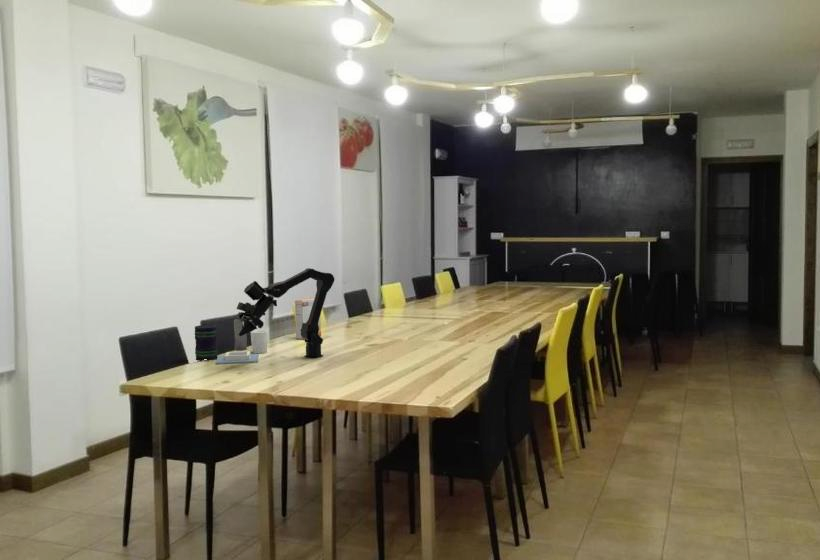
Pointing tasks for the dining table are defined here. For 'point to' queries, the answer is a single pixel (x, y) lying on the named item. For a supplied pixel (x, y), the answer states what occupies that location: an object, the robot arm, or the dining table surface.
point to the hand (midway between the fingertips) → (237, 334)
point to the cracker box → (304, 315)
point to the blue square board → (237, 357)
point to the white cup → (259, 341)
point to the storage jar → (206, 342)
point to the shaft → (239, 340)
